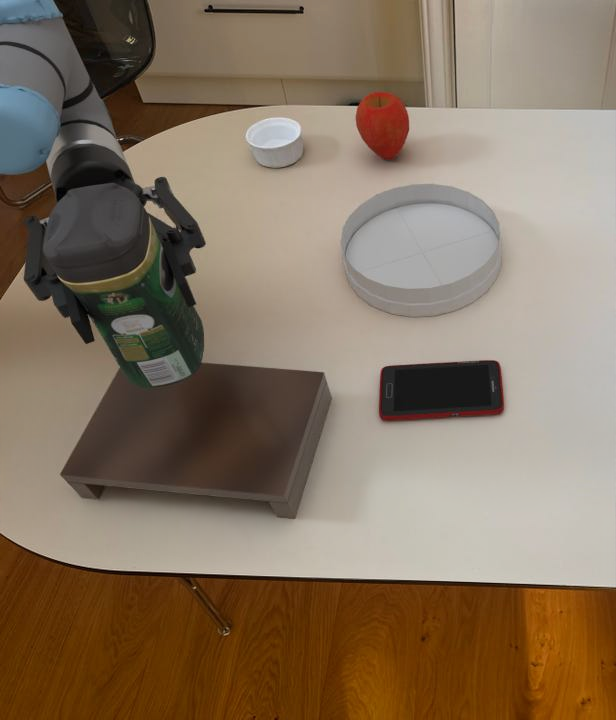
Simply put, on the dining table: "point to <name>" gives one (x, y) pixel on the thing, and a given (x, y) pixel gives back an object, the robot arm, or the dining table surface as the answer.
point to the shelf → (206, 435)
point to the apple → (383, 123)
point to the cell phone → (440, 390)
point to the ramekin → (275, 142)
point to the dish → (422, 249)
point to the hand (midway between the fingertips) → (136, 313)
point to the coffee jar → (125, 283)
